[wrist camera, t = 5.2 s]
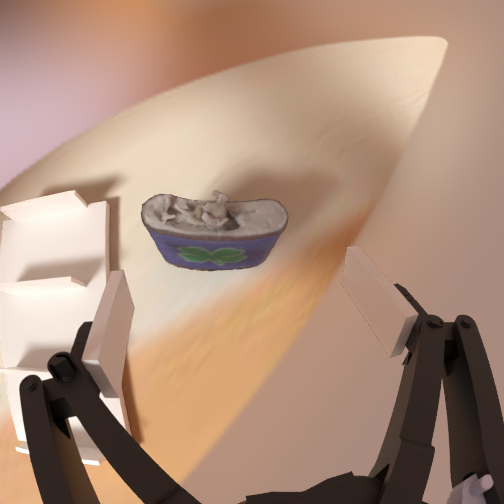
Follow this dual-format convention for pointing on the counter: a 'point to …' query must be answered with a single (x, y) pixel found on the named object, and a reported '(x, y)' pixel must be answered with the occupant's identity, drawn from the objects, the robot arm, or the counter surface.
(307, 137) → the counter surface
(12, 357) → the rack
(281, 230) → the flask
